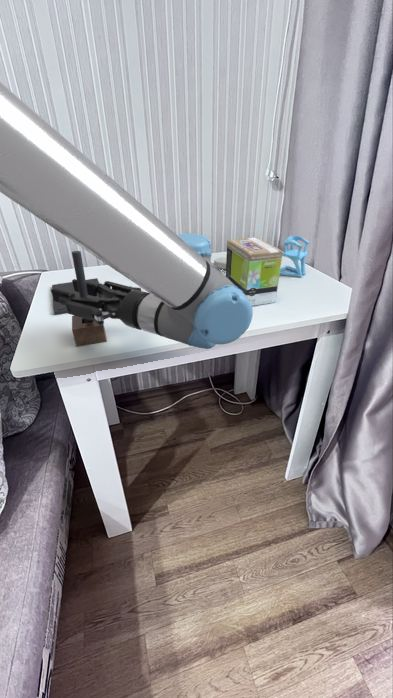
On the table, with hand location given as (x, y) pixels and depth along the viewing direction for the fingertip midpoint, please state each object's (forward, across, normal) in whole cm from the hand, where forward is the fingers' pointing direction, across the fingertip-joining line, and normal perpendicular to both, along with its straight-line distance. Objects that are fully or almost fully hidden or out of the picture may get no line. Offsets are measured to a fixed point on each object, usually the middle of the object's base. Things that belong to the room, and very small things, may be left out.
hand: (64, 289), depth 73 cm
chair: (-36, +62, -11) cm, 73 cm away
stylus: (-5, 0, -11) cm, 12 cm away
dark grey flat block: (+15, +15, -11) cm, 24 cm away
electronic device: (-17, +57, -11) cm, 60 cm away
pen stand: (-5, 0, -11) cm, 12 cm away
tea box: (-30, +40, -11) cm, 51 cm away
